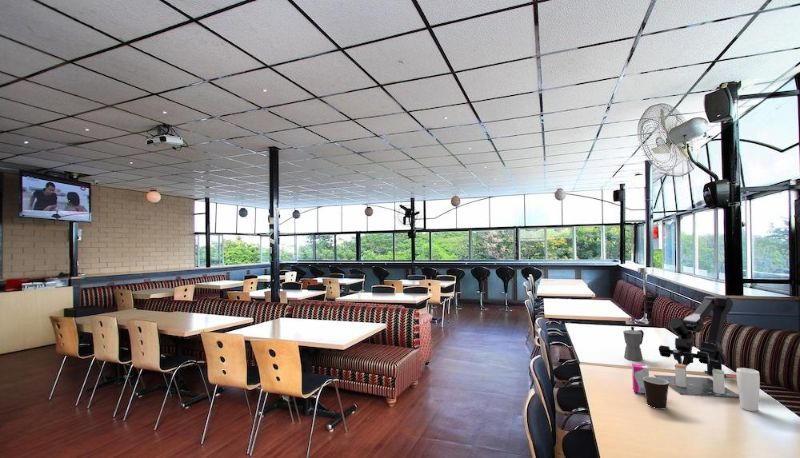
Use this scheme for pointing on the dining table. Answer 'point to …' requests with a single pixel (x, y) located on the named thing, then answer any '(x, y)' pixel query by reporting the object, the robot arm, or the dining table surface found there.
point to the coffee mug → (656, 391)
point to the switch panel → (696, 387)
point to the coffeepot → (633, 344)
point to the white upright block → (718, 381)
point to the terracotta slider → (680, 375)
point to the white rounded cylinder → (748, 388)
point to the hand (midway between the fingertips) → (681, 370)
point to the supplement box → (639, 377)
